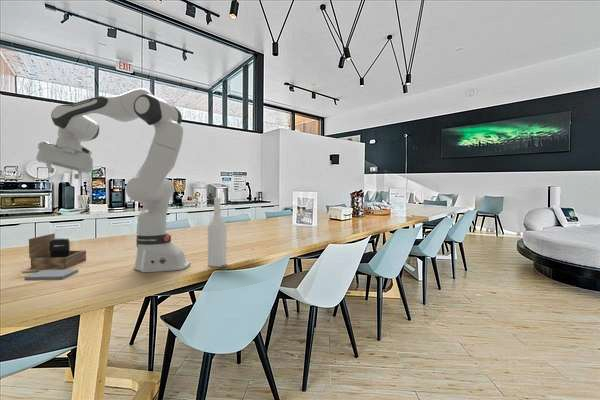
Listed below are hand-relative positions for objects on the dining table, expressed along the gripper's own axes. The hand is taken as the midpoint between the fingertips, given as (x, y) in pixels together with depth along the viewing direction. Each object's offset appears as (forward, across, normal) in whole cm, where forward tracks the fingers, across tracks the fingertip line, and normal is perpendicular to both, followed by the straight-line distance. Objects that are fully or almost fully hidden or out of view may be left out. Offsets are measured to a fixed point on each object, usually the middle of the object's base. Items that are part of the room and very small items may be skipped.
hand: (64, 175), depth 136 cm
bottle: (+46, +52, -34) cm, 77 cm away
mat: (+43, +1, +1) cm, 43 cm away
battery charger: (+34, +8, +17) cm, 39 cm away
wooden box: (+35, +6, +16) cm, 39 cm away
